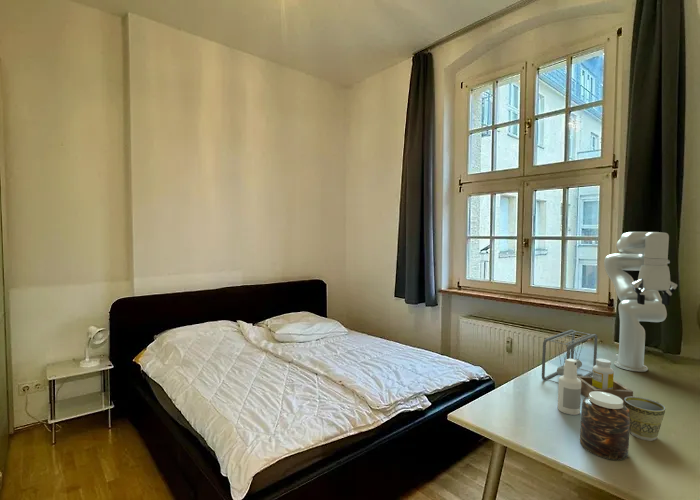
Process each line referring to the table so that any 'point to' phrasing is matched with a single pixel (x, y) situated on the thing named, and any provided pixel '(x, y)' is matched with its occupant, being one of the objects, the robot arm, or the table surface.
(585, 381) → the box
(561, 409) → the spray bottle
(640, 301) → the robot arm
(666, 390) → the table surface
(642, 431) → the ceramic cup
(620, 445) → the jar
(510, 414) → the table surface
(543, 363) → the newton's cradle
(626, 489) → the table surface
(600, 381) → the supplement bottle
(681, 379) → the table surface
